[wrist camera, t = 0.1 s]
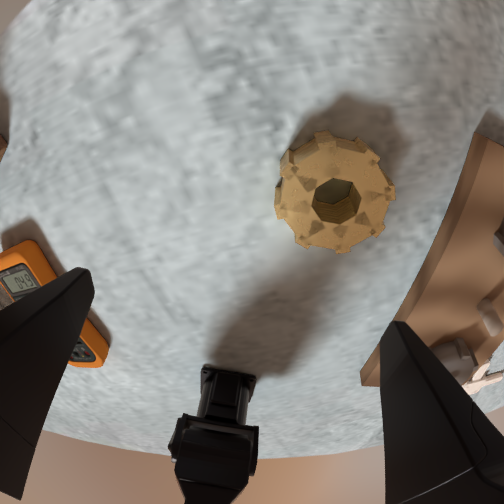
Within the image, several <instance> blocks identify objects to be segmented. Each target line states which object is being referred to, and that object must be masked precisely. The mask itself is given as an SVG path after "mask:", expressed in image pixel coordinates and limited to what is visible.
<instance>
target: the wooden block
mask: <svg viewBox="0 0 504 504" xmlns="http://www.w3.org/2000/svg"><path fill="white" fill-rule="evenodd" d="M6 148H7V142H6V141H5V140H4V139H3V137H2V136H1V135H0V162H1V160H2V157H3V155H4V153H5V150H6Z"/></svg>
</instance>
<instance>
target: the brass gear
mask: <svg viewBox="0 0 504 504" xmlns="http://www.w3.org/2000/svg"><path fill="white" fill-rule="evenodd" d="M380 159H381V158H380V157H379V156H378V155H377V154H376V153H375V152H374V151H373V150H372V149H371V148H370V147H369V146H368V145H367V144H366V143H364V142H363V141H362V140H360V139H359V138H358V137H357V138H356V139H355V141H350V140H346V139H342V138H338V137H333V136H332V135H331V134H330V132H329V131H328V130H327V131H321V132H315V133H314V139H312V140H311V141H309V142H307V143H306V144H304V145H303V146H301V147H300V148H298V149H296V150H295V151H291V150H290V149H288V150H287V151H286V153H285V154H284V156H283V157H282V159H281V160H280V176H282V182H281V186H279V187H275V200H274V207H275V211H276V215H277V219H284V220H285V221H286V222H287V224H288V225H289V226H290V228H291V229H292V230H293V232H294V233H295V242H296V243H298V244H299V245H301V246H303V247H304V248H306V249H308V248H309V247H310V246H311V245H312V246H318V247H324V248H329V249H335V251H336V254H340V253H346V252H350V247H351V246H353V245H355V244H357V243H359V242H361V241H362V240H364V239H366V238H368V237H370V236H371V235H373V236H374V237H376V238H377V236H378V235H379V234H380V233H381V232H382V231H383V230H384V229H385V225H384V223H383V220H384V217H385V214H386V211H387V208H388V206H389V203H390V201H392V200H396V198H395V185H394V184H393V183H392V181H391V180H390V179H389V178H388V176H387V175H386V174H385V173H384V171H383V170H382V169H381V170H380V168H379V166H378V164H377V163H378V161H379V160H380ZM332 178H336V179H341V180H346V181H350V182H352V185H351V189H350V192H349V195H348V197H346V198H344V199H342V200H341V201H339V202H337V203H335V204H329V203H324V202H319V201H317V200H316V199H315V197H314V192H315V188H317V187H318V186H320V185H322V184H323V183H325V182H327V181H328V180H330V179H332Z"/></svg>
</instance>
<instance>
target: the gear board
mask: <svg viewBox="0 0 504 504" xmlns="http://www.w3.org/2000/svg"><path fill="white" fill-rule="evenodd" d="M393 320H398V321H405V322H406V323H407V324H408V325H409V326H410V327H411V328H412V330H413V331H414V332H415V333H416V334H417V335H418V336H419V337H420V338H421V340H422V341H423V342H424V343H425V344H426V345H427V346H428V347H429V349H430V350H431V351H432V352H433V353H434V354H435V355H436V357H437V358H438V359H439V360H440V361H441V362H442V364H443V365H444V366H445V367H446V368H447V369H448V371H449V372H450V373H451V374H452V375H453V377H454V378H455V379H456V380H457V381H458V382H459V384H460V385H461V386H462V385H464V384H465V383H466V382H467V381H468V380H469V379H470V378H471V377H472V376H473V375H474V374H475V373H476V372H477V371H478V370H479V368H480V367H481V366H482V365H483V364H484V363H485V362H486V361H487V359H488V358H489V357H490V356H491V355H492V354H493V352H494V351H495V350H496V349H497V348H498V346H499V345H500V344H501V343H502V341H503V340H504V146H502V145H500V144H498V143H496V142H494V141H492V140H490V139H488V138H486V137H484V136H482V135H480V134H478V133H476V132H474V135H473V139H472V142H471V145H470V148H469V152H468V155H467V158H466V161H465V164H464V167H463V170H462V173H461V175H460V178H459V181H458V184H457V186H456V189H455V192H454V194H453V197H452V200H451V202H450V205H449V207H448V210H447V212H446V214H445V217H444V219H443V222H442V224H441V226H440V228H439V231H438V233H437V235H436V237H435V240H434V242H433V244H432V246H431V248H430V251H429V253H428V255H427V257H426V259H425V261H424V263H423V265H422V267H421V269H420V271H419V273H418V275H417V277H416V279H415V281H414V283H413V285H412V286H411V288H410V290H409V292H408V294H407V296H406V298H405V299H404V301H403V303H402V305H401V307H400V308H399V310H398V312H397V314H396V315H395V317H394V319H393ZM360 377H361V384H362V386H374V387H380V342H379V344H378V345H377V347H376V348H375V350H374V351H373V353H372V355H371V356H370V358H369V359H368V361H367V362H366V364H365V365H364V367H363V368H362V370H361V371H360Z"/></svg>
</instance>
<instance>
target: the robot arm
mask: <svg viewBox="0 0 504 504" xmlns="http://www.w3.org/2000/svg"><path fill="white" fill-rule="evenodd" d="M94 294H95V290H94V285H93V281H92V277H91V273H90V271H89V270H88V269H85V268H81V267H76V268H74V269H72V270H70V271H69V272H67V273H65V274H63V275H61V276H59V277H58V278H56V279H54V280H52V281H50V282H49V283H47V284H45V285H43V286H41V287H40V288H38V289H36V290H34V291H33V292H31V293H29V294H27V295H26V296H24V297H22V298H21V299H19V300H17V301H15V302H14V303H12V304H10V305H9V306H7V307H5V308H4V309H2V310H0V491H1V492H3V493H5V494H7V495H9V496H11V497H13V498H15V499H18V500H21V498H22V495H23V491H24V487H25V483H26V479H27V476H28V472H29V469H30V465H31V462H32V458H33V455H34V452H35V448H36V445H37V442H38V439H39V436H40V433H41V430H42V428H43V425H44V422H45V419H46V416H47V414H48V411H49V408H50V406H51V403H52V400H53V398H54V395H55V393H56V390H57V388H58V385H59V383H60V380H61V378H62V376H63V373H64V371H65V369H66V366H67V364H68V362H69V359H70V357H71V355H72V353H73V350H74V348H75V346H76V344H77V341H78V339H79V337H80V334H81V331H82V328H83V326H84V323H85V320H86V317H87V314H88V312H89V309H90V306H91V304H92V301H93V298H94ZM255 382H256V377H255V376H253V375H246V374H240V373H233V372H228V371H222V370H216V369H211V368H205V367H204V368H202V369H201V399H200V403H199V407H198V412H197V416H191V415H188V414H186V413H183V415H182V417H181V418H178V420H177V424H176V428H175V431H174V433H173V435H172V438H171V440H170V442H169V444H168V449H169V451H170V452H171V456H172V458H171V459H172V462H173V463H176V464H175V469H174V471H175V475H176V479H177V483H178V485H179V487H180V490H181V493H182V495H183V497H184V499H185V503H184V504H232V503H233V502H234V501H235V500H236V499H237V498H238V496H239V495H240V494H241V493H242V492H243V490H244V489H245V487H246V485H247V484H248V479H249V476H254V473H255V470H256V465H257V458H258V438H259V426H248V425H245V424H246V416H247V408H248V403H249V402H250V400H251V396H252V393H253V389H254V386H255ZM380 395H381V406H382V418H383V432H384V451H385V491H386V492H385V504H504V436H503V435H502V434H501V433H500V432H499V431H498V430H497V428H496V427H495V426H494V425H493V424H492V423H491V422H490V421H489V419H488V418H487V417H486V416H485V414H484V413H483V412H482V411H481V410H480V408H479V407H478V406H477V404H476V403H475V402H474V401H473V400H472V398H471V397H470V396H469V395H468V393H467V392H466V391H465V390H464V389H463V387H462V386H461V385H460V384H459V382H458V381H457V380H456V379H455V378H454V377H453V375H452V374H451V373H450V372H449V371H448V369H447V368H446V367H445V366H444V365H443V364H442V362H441V361H440V360H439V359H438V358H437V357H436V355H435V354H434V353H433V352H432V351H431V350H430V349H429V347H428V346H427V345H426V344H425V343H424V342H423V341H422V340H421V338H420V337H419V336H418V335H417V334H416V333H415V332H414V331H413V330H412V328H411V327H410V326H409V325H408V324H407V323H406V322H405V321H398V320H393V321H391V322H390V324H389V326H388V327H387V329H386V331H385V332H384V334H383V336H382V337H381V340H380Z"/></svg>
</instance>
